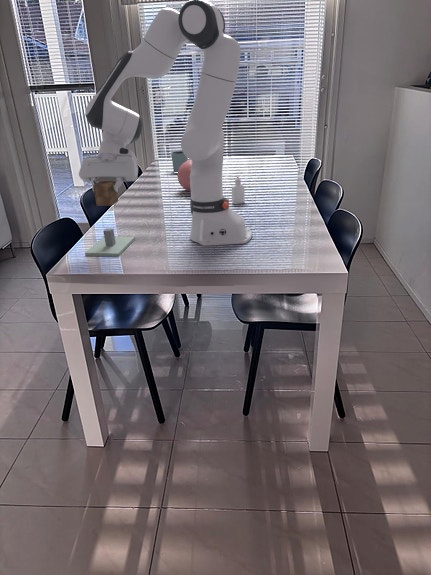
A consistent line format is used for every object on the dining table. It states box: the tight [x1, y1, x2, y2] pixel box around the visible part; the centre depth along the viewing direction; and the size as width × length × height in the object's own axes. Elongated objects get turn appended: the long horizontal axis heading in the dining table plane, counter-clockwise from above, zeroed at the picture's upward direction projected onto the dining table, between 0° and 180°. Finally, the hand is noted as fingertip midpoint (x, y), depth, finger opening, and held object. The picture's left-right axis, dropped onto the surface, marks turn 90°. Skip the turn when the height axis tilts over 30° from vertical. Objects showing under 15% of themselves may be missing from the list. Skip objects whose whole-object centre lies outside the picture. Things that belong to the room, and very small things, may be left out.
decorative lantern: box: [177, 159, 192, 192], centre depth 212 cm, size 15×20×15 cm
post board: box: [84, 227, 136, 257], centre depth 149 cm, size 12×16×6 cm
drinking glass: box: [170, 150, 189, 173], centre depth 260 cm, size 10×10×12 cm
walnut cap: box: [92, 181, 119, 207], centre depth 145 cm, size 6×6×7 cm
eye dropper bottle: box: [231, 175, 246, 205], centre depth 191 cm, size 4×6×12 cm
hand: (104, 191), depth 144 cm, fingers closed on walnut cap, 6 cm apart
